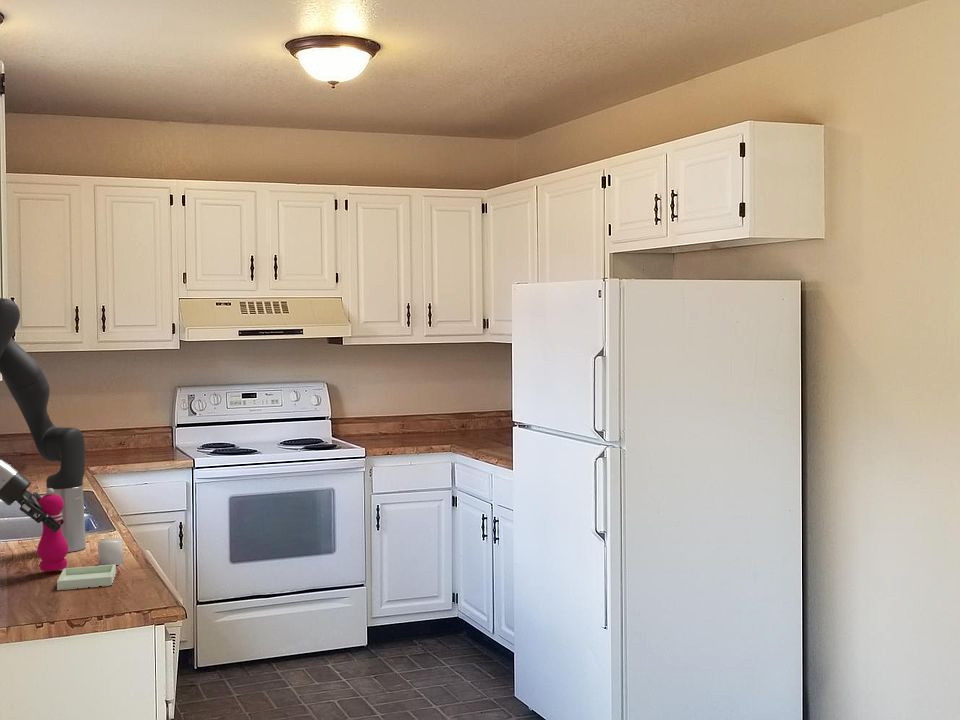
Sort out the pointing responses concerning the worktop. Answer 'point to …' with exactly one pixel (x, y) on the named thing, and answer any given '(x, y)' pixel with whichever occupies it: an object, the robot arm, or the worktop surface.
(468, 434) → the worktop surface
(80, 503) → the robot arm
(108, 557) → the grey rounded block
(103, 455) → the worktop surface
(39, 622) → the worktop surface
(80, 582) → the tray
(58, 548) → the pepper mill
